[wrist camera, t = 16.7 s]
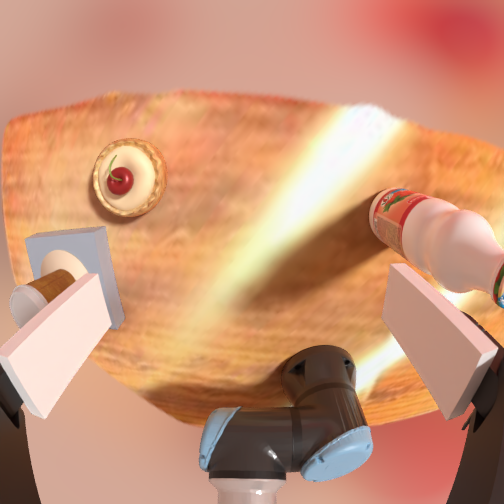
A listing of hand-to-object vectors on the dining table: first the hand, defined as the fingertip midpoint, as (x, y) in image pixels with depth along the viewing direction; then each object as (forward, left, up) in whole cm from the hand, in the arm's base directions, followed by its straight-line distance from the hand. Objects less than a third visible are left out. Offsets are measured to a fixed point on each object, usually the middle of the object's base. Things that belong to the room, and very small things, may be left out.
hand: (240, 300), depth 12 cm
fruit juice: (-3, -23, -32) cm, 39 cm away
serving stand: (-12, +34, -32) cm, 48 cm away
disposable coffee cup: (-12, +34, -28) cm, 45 cm away
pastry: (+5, +18, -32) cm, 37 cm away
